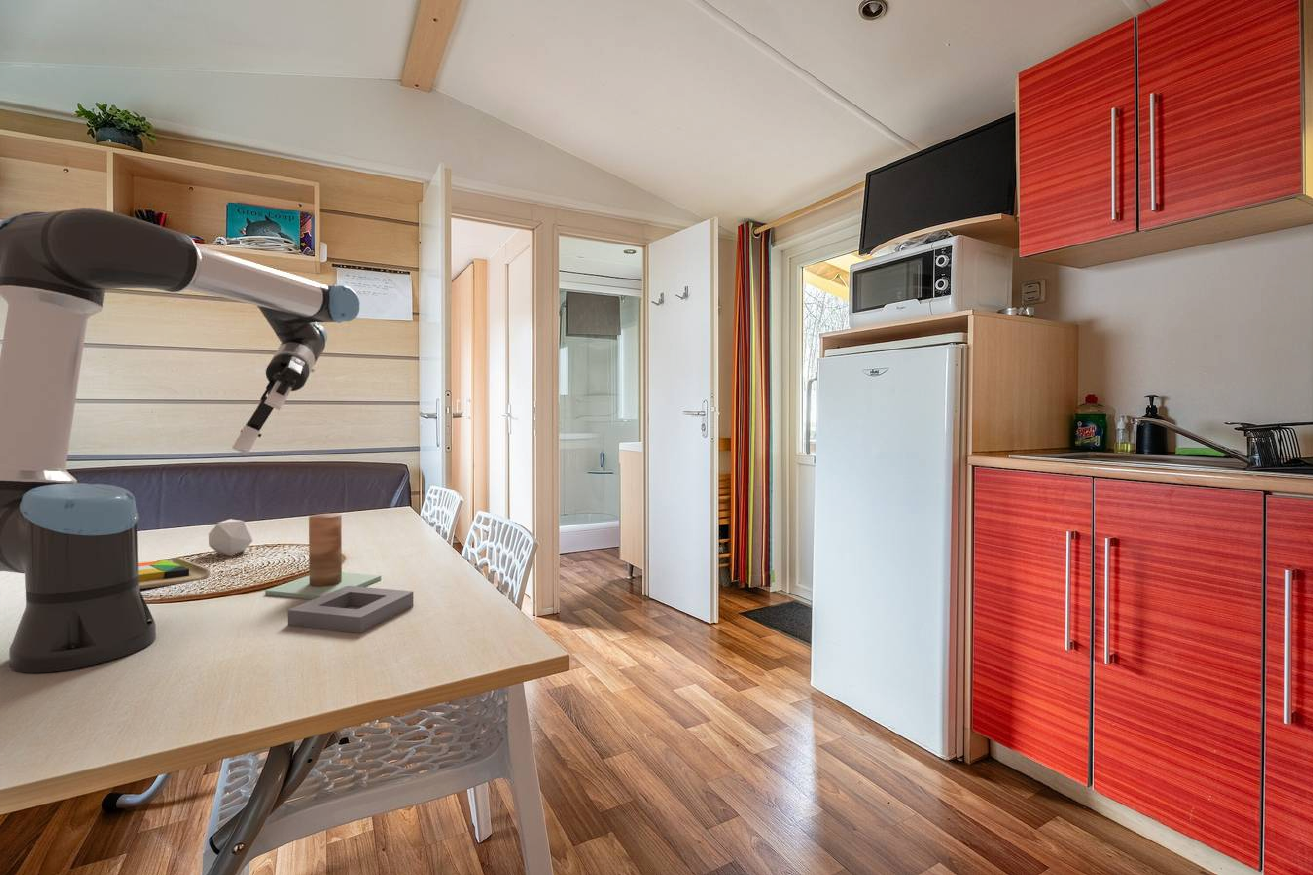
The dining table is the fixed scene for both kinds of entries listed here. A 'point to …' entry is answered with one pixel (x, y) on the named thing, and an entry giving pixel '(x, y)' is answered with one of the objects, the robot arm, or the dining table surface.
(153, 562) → the wooden puzzle
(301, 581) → the board
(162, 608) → the dining table surface
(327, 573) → the brown wooden cylinder
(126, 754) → the dining table surface
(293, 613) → the pocket plate
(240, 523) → the die
